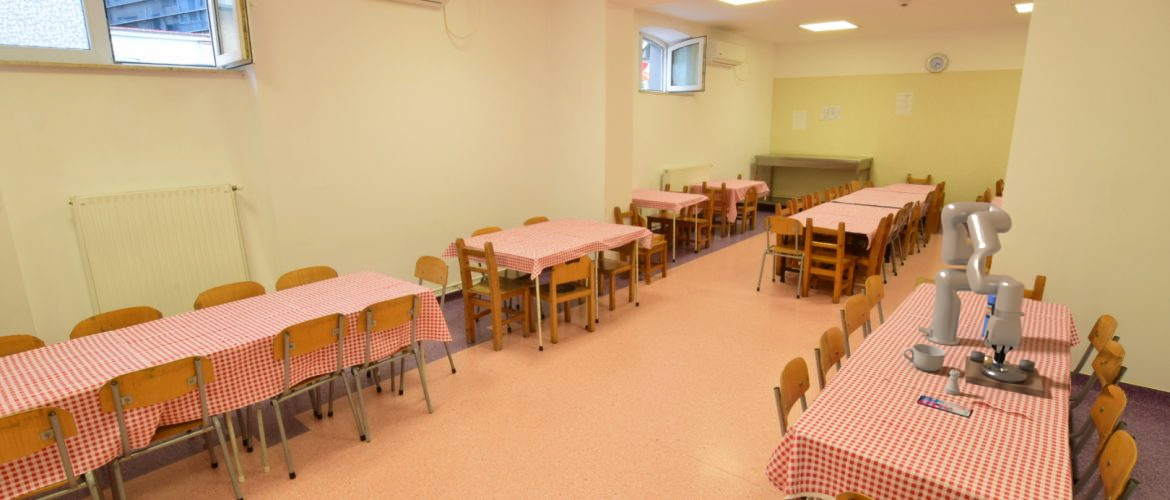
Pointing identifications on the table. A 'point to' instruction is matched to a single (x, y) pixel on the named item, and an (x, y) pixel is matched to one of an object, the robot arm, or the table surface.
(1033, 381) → the levelling base
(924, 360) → the teacup
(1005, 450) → the table surface
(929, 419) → the table surface
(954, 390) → the rook chess piece
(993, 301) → the water bottle
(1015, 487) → the table surface
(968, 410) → the smartphone
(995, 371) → the silver metal dome
